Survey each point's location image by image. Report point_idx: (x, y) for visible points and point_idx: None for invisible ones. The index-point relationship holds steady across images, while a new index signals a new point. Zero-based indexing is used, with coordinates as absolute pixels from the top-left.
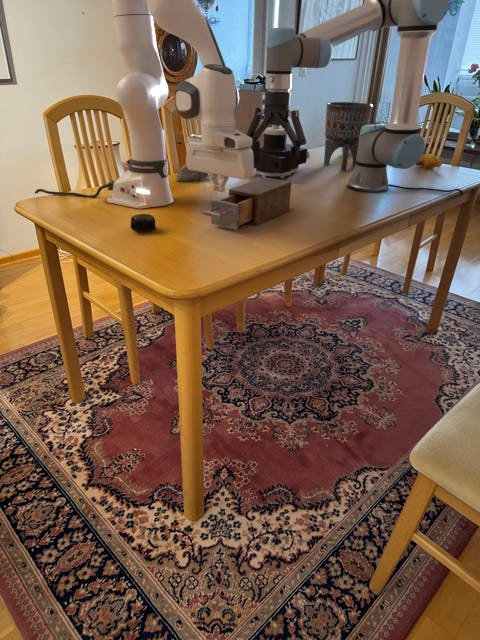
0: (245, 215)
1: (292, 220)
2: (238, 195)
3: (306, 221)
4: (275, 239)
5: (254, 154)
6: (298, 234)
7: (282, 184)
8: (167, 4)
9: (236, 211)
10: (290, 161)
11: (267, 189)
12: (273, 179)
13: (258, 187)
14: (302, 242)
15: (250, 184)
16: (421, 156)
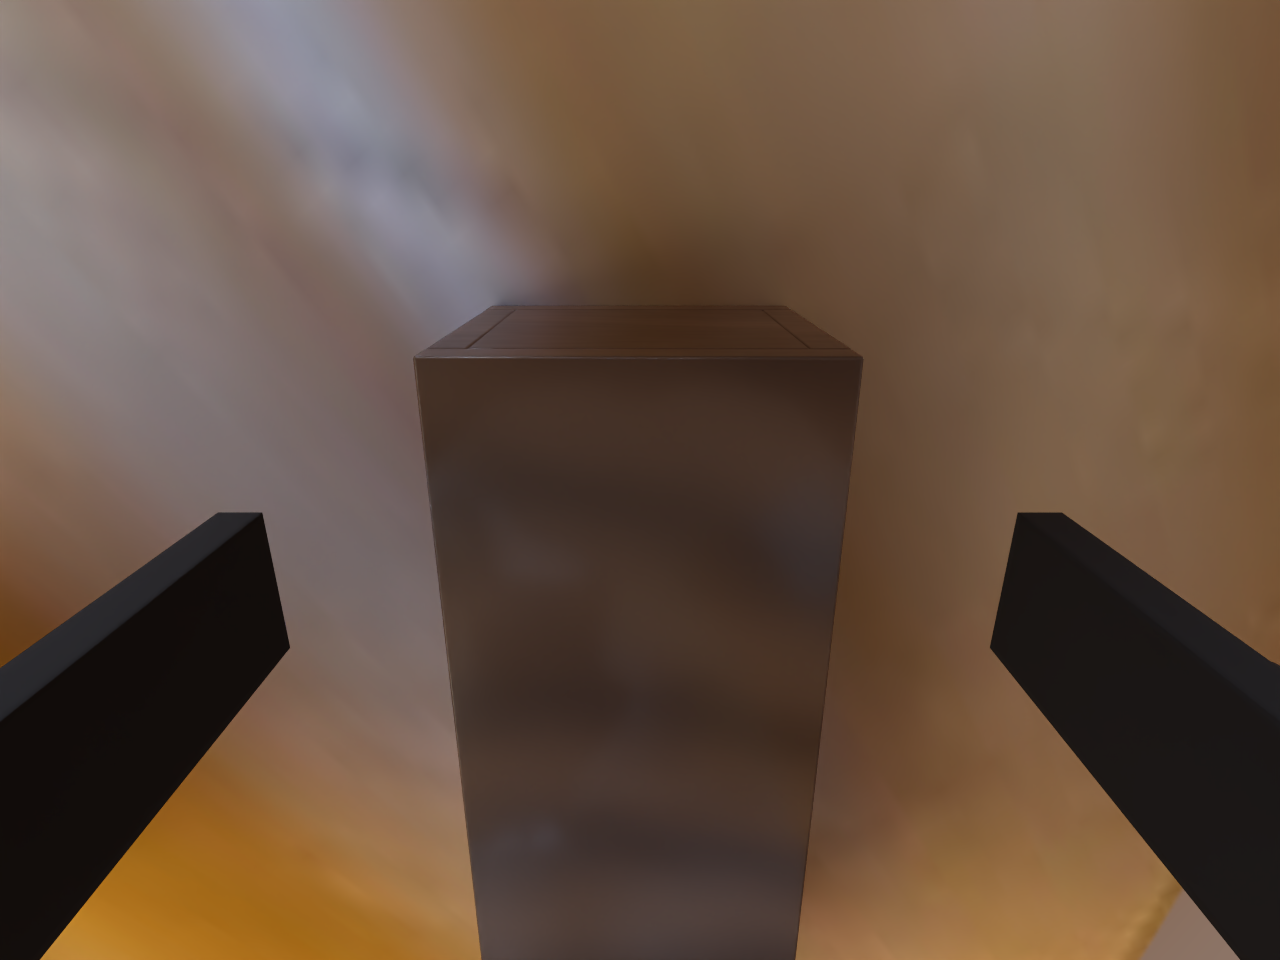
0: None
1: (928, 543)
2: None
3: (1037, 500)
4: (968, 878)
5: (193, 756)
6: (1067, 752)
7: (822, 548)
8: None
9: None
10: (1069, 733)
11: (781, 804)
12: (590, 392)
13: (663, 795)
14: (1128, 838)
15: (523, 753)
16: None
